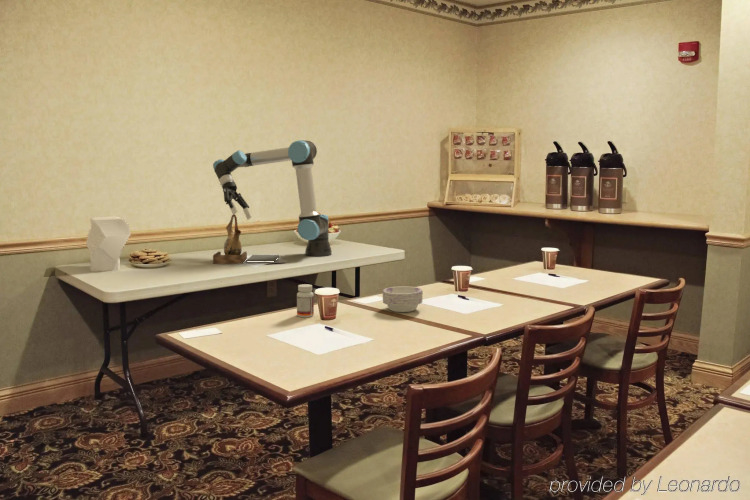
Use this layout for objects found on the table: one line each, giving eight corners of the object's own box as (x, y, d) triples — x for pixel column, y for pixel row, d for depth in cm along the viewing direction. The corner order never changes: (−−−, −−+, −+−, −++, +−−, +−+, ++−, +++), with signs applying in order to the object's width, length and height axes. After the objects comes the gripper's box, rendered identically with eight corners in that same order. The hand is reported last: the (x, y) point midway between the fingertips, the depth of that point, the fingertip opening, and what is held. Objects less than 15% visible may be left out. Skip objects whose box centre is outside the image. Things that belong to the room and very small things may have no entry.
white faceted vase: (87, 273, 328) (84, 220, 324) (87, 264, 352) (84, 215, 349) (133, 270, 336) (130, 219, 332) (130, 262, 361) (127, 214, 357)
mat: (279, 257, 380) (279, 254, 380) (274, 262, 362) (274, 260, 362) (252, 256, 380) (252, 254, 380) (246, 262, 362) (246, 260, 362)
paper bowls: (381, 305, 266) (381, 285, 265) (419, 305, 267) (420, 285, 266) (383, 314, 251) (384, 293, 250) (424, 314, 252) (425, 293, 251)
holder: (247, 259, 370) (246, 251, 369) (242, 263, 357) (242, 255, 357) (218, 259, 370) (218, 251, 369) (213, 263, 357) (212, 255, 357)
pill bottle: (306, 312, 254) (305, 283, 252) (317, 315, 249) (317, 285, 248) (293, 315, 249) (293, 285, 247) (304, 318, 245) (304, 287, 243)
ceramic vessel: (245, 262, 364) (248, 216, 359) (229, 263, 359) (232, 216, 354) (234, 256, 377) (236, 211, 372) (218, 257, 372) (220, 211, 367)
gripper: (236, 193, 390) (250, 223, 383) (209, 182, 367) (223, 214, 360) (246, 186, 388) (260, 216, 381) (219, 174, 365) (234, 206, 358)
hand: (242, 215), depth 370 cm, fingers open, 13 cm apart
